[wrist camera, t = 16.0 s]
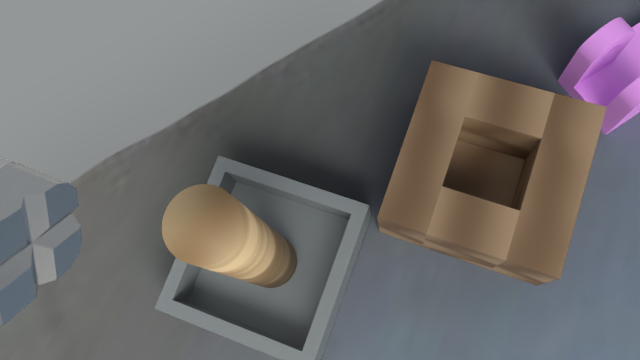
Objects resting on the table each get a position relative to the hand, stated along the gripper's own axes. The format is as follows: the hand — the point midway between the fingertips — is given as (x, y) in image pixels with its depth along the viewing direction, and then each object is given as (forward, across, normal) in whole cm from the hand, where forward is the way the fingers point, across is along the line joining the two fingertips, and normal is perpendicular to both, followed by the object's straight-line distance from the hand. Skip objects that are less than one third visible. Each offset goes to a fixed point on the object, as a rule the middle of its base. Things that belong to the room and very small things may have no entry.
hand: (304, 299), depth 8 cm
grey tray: (+25, +9, +23) cm, 36 cm away
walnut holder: (+33, -4, +16) cm, 37 cm away
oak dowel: (+25, +9, +23) cm, 35 cm away
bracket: (+43, -14, +6) cm, 45 cm away
